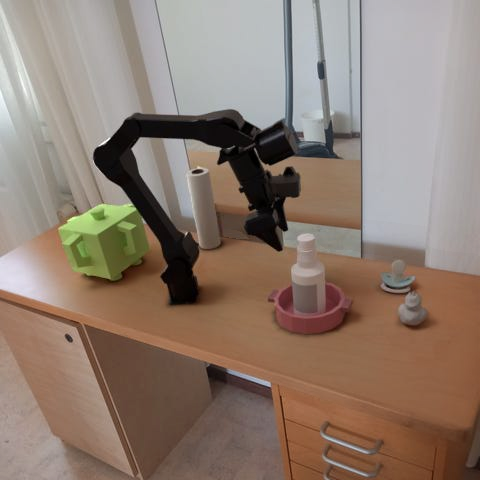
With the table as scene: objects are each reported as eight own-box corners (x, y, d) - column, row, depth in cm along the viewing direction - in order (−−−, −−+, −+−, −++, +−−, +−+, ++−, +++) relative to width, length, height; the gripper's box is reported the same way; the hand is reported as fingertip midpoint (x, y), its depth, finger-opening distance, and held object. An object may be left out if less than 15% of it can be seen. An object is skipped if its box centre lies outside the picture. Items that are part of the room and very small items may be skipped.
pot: (260, 327, 104) (258, 312, 102) (282, 291, 115) (281, 276, 113) (342, 339, 97) (342, 323, 95) (358, 300, 108) (358, 284, 106)
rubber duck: (393, 327, 99) (395, 293, 94) (403, 309, 103) (405, 276, 98) (421, 332, 96) (425, 298, 92) (429, 314, 100) (433, 281, 96)
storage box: (115, 298, 122) (94, 235, 112) (52, 283, 132) (29, 225, 123) (173, 252, 139) (160, 193, 129) (114, 242, 149) (97, 188, 139)
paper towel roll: (213, 251, 136) (200, 176, 124) (195, 248, 139) (181, 174, 127) (227, 239, 141) (215, 166, 129) (209, 237, 144) (197, 164, 132)
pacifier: (409, 297, 107) (416, 282, 111) (411, 273, 103) (418, 258, 107) (376, 292, 110) (383, 278, 114) (376, 268, 106) (384, 254, 110)
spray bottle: (291, 306, 109) (285, 232, 98) (322, 301, 109) (319, 227, 99) (297, 324, 103) (291, 247, 93) (329, 319, 103) (327, 242, 93)
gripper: (281, 175, 86) (315, 248, 94) (293, 143, 101) (321, 208, 108) (227, 198, 91) (263, 267, 98) (246, 165, 106) (276, 226, 113)
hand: (283, 240), depth 104 cm, fingers open, 9 cm apart
